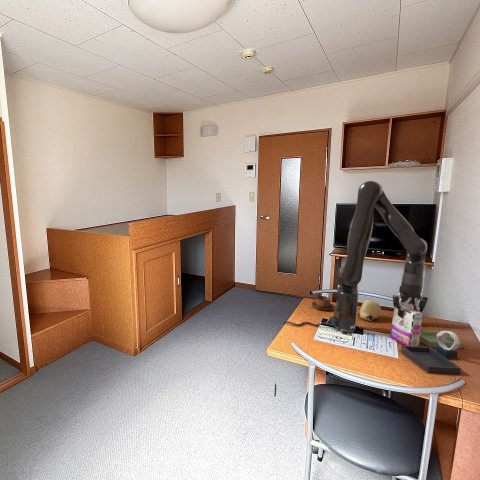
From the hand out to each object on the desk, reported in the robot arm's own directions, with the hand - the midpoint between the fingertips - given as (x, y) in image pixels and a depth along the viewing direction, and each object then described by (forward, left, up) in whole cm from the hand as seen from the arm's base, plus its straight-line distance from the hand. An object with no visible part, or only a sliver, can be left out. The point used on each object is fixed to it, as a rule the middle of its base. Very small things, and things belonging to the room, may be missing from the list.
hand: (407, 317), depth 146 cm
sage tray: (+15, +2, -13) cm, 20 cm away
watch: (+10, -11, -13) cm, 20 cm away
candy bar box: (0, 0, -13) cm, 13 cm away
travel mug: (+13, +23, -13) cm, 29 cm away
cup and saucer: (-21, +41, -13) cm, 48 cm away
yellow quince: (-2, +27, -13) cm, 30 cm away
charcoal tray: (-1, -17, -13) cm, 21 cm away
